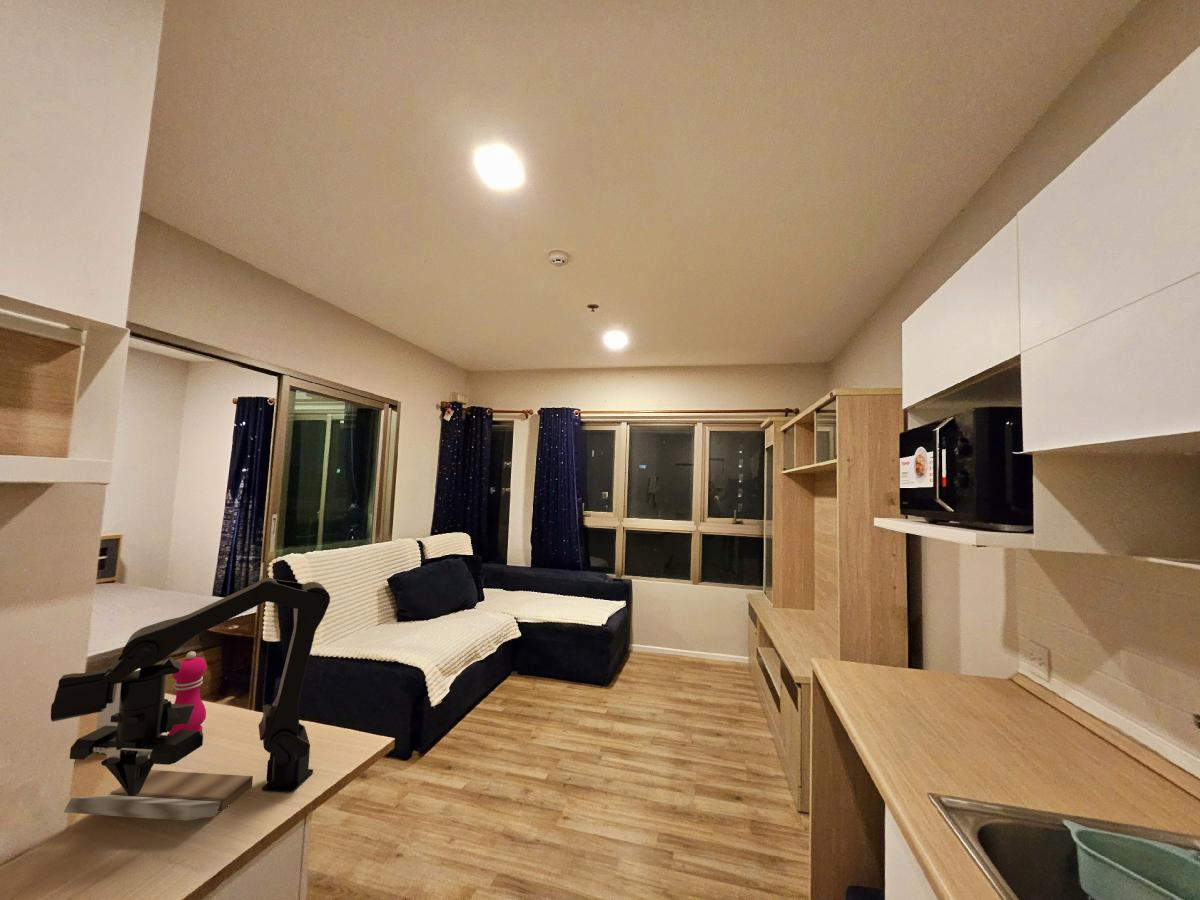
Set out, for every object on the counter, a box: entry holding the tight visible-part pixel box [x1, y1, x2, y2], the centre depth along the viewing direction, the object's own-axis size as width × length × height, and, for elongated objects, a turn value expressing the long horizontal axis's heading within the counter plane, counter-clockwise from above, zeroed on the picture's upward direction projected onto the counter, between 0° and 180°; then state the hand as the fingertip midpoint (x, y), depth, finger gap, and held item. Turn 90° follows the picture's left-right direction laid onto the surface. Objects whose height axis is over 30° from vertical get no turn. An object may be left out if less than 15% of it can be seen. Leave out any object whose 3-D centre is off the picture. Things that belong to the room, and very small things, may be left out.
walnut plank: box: [109, 769, 254, 812], centre depth 89 cm, size 22×7×2 cm, turn 88°
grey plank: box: [63, 794, 221, 821], centre depth 82 cm, size 22×7×2 cm, turn 88°
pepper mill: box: [167, 650, 208, 736], centre depth 107 cm, size 7×7×20 cm
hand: (134, 794), depth 80 cm, fingers closed
